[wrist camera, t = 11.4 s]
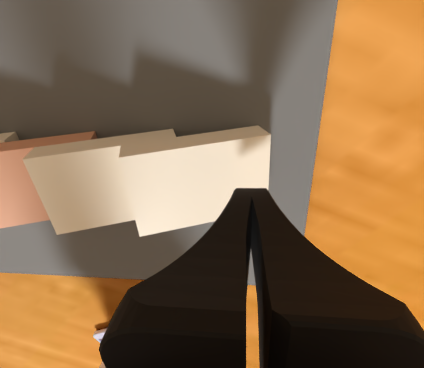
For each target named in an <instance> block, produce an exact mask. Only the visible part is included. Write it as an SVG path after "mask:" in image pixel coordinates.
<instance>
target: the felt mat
mask: <svg viewBox="0 0 424 368" xmlns="http://www.w3.org/2000/svg"><path fill="white" fill-rule="evenodd" d="M337 2H338V0H0V134H1V133H9V132H16V134H17V136H18V138H19V140H27V139H35V138H43V137H51V136H59V135H67V134H75V133H83V132H91V131H95V132H96V136H97V139H99V138H107V137H114V136H122V135H129V134H137V133H144V132H152V131H159V130H166V129H173V130H174V132H175V135H176V137H180V136H187V135H194V134H201V133H208V132H215V131H222V130H229V129H236V128H243V127H250V126H257V125H258V126H260V127H261V128H262V129H264V130H265V131H267V132H268V133H270V134H271V145H270V167H269V188H268V191H269V193H270V194H271V196H272V198H273V199H274V201H275V202H276V204H277V205H278V207H279V208H280V209H281V211H282V212H283V213H284V214H285V216H286V217H287V218H288V219H289V221H290V222H291V223H292V224H293V225H294V226H295V227H296V228H297V229H298V231H299V232H300V233H301V234H302V235H303V236H304V233H305V226H306V219H307V212H308V205H309V198H310V191H311V184H312V177H313V170H314V163H315V156H316V149H317V142H318V135H319V128H320V121H321V114H322V107H323V100H324V93H325V86H326V79H327V72H328V65H329V58H330V51H331V44H332V37H333V30H334V23H335V16H336V9H337ZM214 222H215V221H214ZM214 222H209V223H204V224H199V225H195V226H190V227H185V228H180V229H175V230H170V231H165V232H161V233H156V234H151V235H146V236H141V237H140V236H139V232H138V229H137V225H136V221H135V220H132V221H127V222H122V223H116V224H111V225H106V226H101V227H96V228H90V229H85V230H80V231H75V232H70V233H64V234H59V235H57V234H56V232H55V229H54V227H53V225H52V223H51V221H50V220H47V221H41V222H35V223H29V224H24V225H18V226H12V227H6V228H0V272H2V273H22V274H42V275H62V276H82V277H101V278H121V279H141V280H146V279H147V278H149V277H151V276H153V275H154V274H156V273H157V272H159V271H161V270H162V269H164V268H165V267H167V266H168V265H169V264H171V263H172V262H173V261H175V260H176V259H178V258H179V257H180V256H181V255H183V254H184V253H185V252H186V251H187V250H188V249H190V248H191V247H192V246H193V245H194V244H195V243H196V242H197V241H198V240H199V239H200V238H201V237H202V236H203V235H204V234H205V233H206V232H207V231H208V229H209V228H210V227H211V226H212V225H213V223H214ZM247 285H256V284H255V276H254V268H253V260H252V252H250V263H249V274H248V284H247Z"/></svg>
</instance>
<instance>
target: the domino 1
mask: <svg viewBox="0 0 424 368" xmlns="http://www.w3.org/2000/svg"><path fill="white" fill-rule="evenodd" d="M92 139H97V136H96V132H95V131H91V132H83V133H75V134H67V135H59V136H51V137H43V138H35V139H27V140H19V141H11V142H3V143H0V228H6V227H12V226H18V225H24V224H29V223H35V222H41V221H47V220H50V219H49V216H48V214H47V212H46V210H45V208H44V206H43V203H42V201H41V199H40V197H39V195H38V193H37V190H36V188H35V186H34V184H33V182H32V180H31V177H30V175H29V173H28V171H27V169H26V167H25V164H24V162H23V160H22V159H23V158H24V157H25V156H26V155H27V154H28V153H29V152H30V151H31V150H32V149H33V148H34V147H40V146H47V145H55V144H62V143H70V142H77V141H85V140H92Z"/></svg>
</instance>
